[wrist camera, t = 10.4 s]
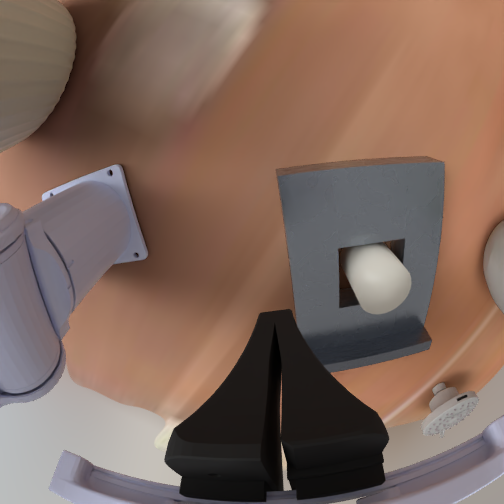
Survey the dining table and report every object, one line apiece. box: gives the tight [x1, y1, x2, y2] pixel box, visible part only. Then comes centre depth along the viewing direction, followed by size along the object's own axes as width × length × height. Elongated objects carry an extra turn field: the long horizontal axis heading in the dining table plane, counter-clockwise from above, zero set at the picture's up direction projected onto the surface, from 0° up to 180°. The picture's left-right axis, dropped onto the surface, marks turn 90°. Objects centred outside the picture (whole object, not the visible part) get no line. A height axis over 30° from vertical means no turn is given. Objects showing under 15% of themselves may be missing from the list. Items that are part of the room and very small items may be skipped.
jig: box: [276, 156, 444, 373], centre depth 19 cm, size 12×16×4 cm
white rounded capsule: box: [340, 242, 411, 314], centre depth 19 cm, size 4×4×5 cm
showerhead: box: [421, 383, 479, 438], centre depth 27 cm, size 9×7×10 cm
